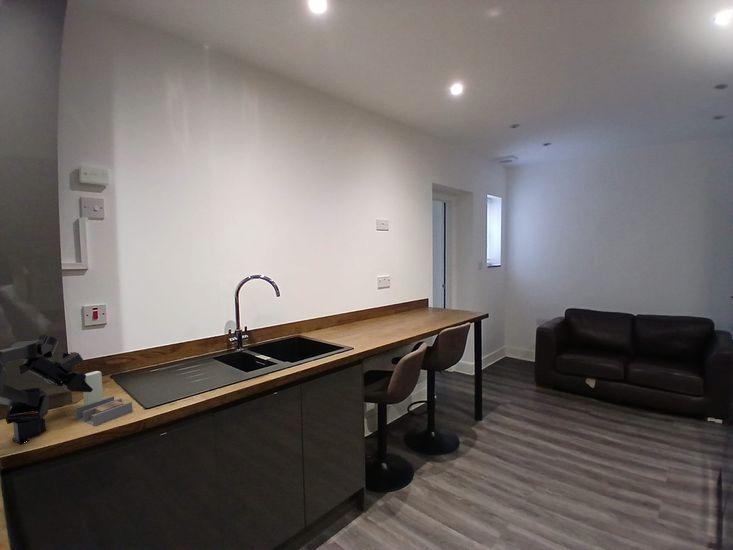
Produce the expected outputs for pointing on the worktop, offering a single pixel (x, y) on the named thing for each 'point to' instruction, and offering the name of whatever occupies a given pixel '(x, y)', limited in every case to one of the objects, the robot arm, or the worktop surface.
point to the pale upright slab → (93, 387)
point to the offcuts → (106, 408)
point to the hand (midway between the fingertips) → (85, 388)
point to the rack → (105, 416)
